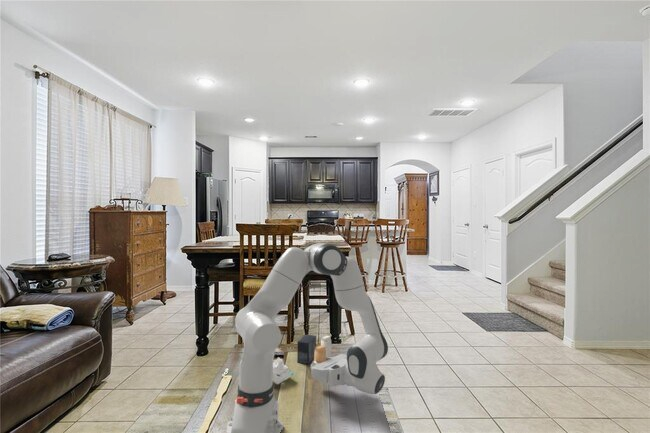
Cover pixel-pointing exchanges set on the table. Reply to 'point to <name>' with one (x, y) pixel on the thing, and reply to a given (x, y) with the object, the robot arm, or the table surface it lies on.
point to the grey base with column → (326, 342)
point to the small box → (306, 349)
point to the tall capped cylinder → (320, 354)
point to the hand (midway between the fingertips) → (318, 360)
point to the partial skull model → (280, 371)
